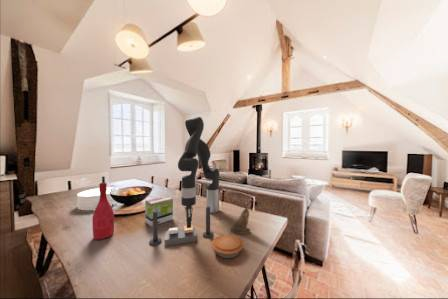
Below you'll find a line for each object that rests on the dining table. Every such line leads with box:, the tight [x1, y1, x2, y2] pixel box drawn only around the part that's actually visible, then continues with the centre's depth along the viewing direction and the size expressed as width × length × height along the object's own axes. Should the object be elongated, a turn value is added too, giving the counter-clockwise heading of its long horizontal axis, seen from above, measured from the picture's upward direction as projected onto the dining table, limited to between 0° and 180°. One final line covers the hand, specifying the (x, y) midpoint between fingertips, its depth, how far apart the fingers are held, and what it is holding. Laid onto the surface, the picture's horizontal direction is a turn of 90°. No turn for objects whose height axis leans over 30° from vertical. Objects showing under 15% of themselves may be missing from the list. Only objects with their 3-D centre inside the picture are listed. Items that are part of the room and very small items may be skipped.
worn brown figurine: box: [229, 204, 251, 236], centre depth 98 cm, size 12×6×18 cm, turn 68°
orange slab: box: [183, 224, 194, 233], centre depth 92 cm, size 4×6×1 cm
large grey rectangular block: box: [164, 227, 197, 246], centre depth 91 cm, size 16×9×4 cm, turn 105°
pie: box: [211, 234, 244, 259], centre depth 81 cm, size 16×16×5 cm
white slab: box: [168, 227, 179, 234], centre depth 90 cm, size 4×6×1 cm
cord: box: [148, 211, 162, 247], centre depth 87 cm, size 6×6×16 cm
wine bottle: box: [91, 182, 115, 240], centre depth 93 cm, size 10×10×30 cm
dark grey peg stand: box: [202, 205, 214, 239], centre depth 94 cm, size 6×6×16 cm
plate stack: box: [76, 187, 119, 211], centre depth 143 cm, size 28×28×12 cm
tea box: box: [144, 195, 174, 228], centre depth 112 cm, size 15×10×15 cm
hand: (188, 227), depth 89 cm, fingers closed
